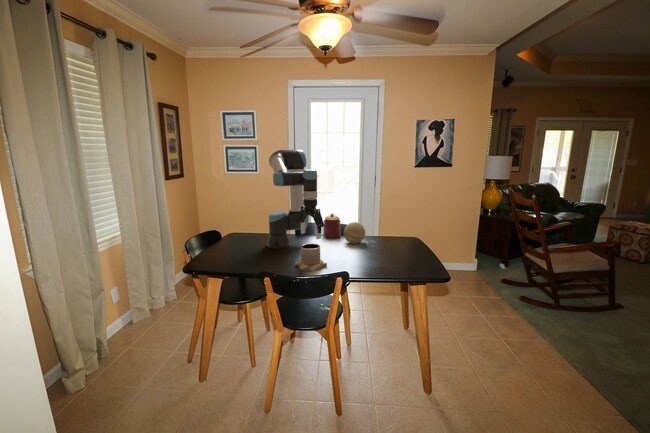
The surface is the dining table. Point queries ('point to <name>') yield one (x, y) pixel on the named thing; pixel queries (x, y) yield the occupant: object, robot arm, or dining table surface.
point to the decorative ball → (354, 232)
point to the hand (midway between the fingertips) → (310, 236)
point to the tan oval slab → (311, 266)
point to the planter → (310, 254)
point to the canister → (332, 226)
